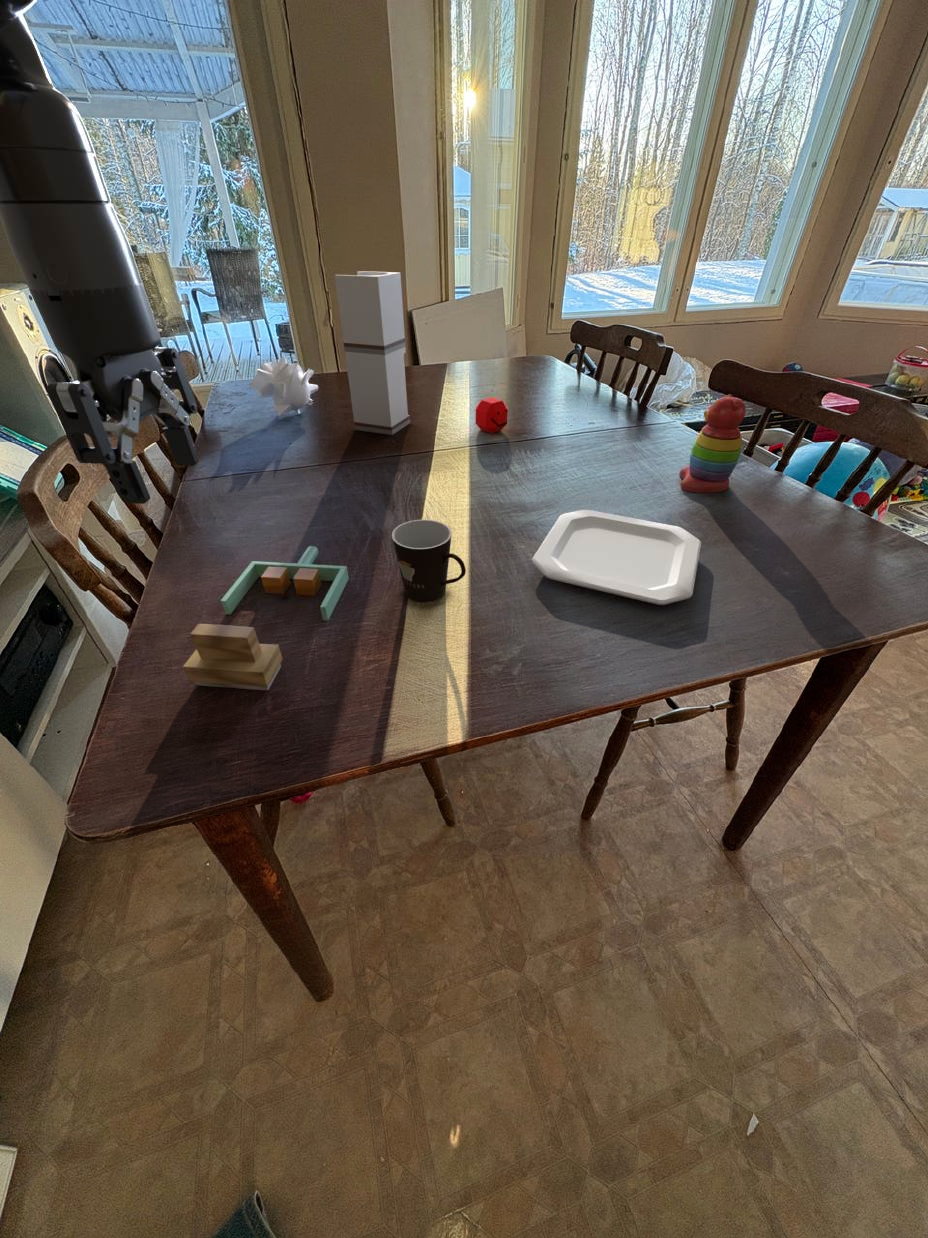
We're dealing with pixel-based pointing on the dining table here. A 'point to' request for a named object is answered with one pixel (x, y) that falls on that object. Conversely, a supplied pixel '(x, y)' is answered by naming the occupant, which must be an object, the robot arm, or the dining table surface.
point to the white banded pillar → (374, 349)
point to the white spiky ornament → (284, 385)
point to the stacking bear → (715, 448)
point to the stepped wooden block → (232, 658)
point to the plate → (621, 556)
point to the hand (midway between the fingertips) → (164, 482)
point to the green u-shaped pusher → (258, 569)
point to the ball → (491, 415)
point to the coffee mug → (424, 558)
